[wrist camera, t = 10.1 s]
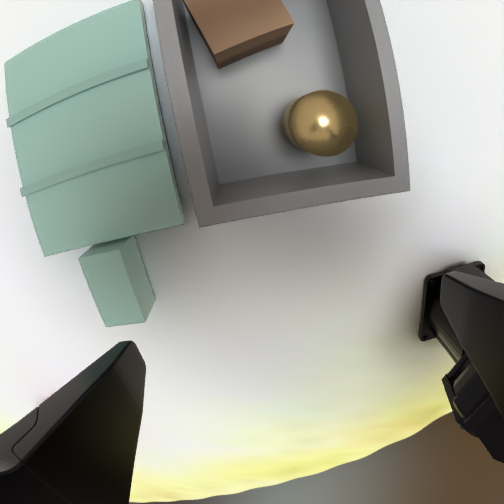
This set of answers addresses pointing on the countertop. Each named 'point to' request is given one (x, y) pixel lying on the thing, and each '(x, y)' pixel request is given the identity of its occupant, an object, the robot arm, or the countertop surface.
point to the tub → (272, 105)
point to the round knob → (320, 123)
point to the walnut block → (239, 26)
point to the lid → (95, 152)
